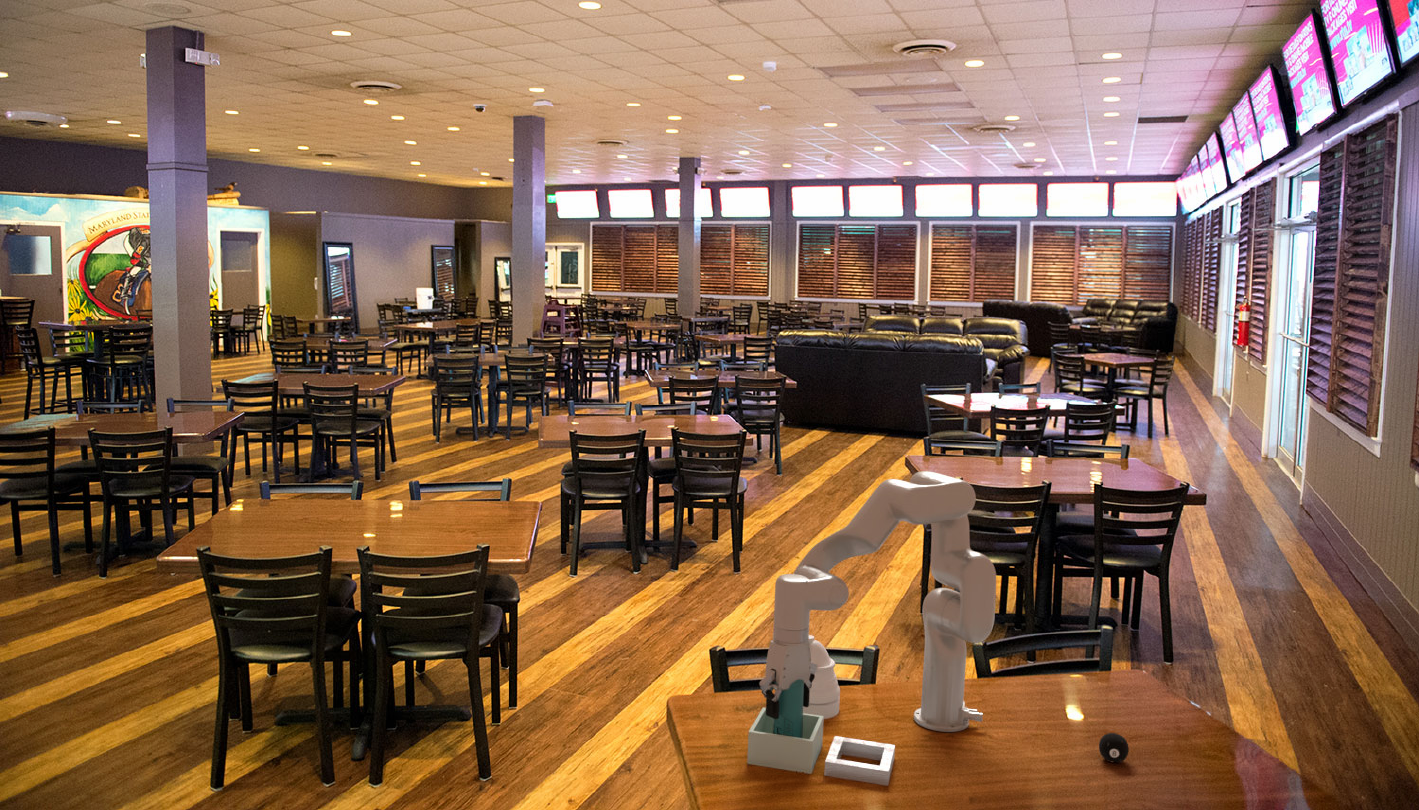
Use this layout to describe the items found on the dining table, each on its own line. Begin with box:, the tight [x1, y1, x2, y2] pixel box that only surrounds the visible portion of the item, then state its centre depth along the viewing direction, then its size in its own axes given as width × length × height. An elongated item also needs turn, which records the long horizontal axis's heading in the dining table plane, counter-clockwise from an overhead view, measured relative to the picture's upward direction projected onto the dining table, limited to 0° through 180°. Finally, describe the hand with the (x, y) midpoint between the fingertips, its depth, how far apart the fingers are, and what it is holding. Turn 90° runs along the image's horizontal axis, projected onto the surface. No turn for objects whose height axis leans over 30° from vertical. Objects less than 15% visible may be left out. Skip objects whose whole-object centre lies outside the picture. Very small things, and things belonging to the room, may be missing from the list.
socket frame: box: [823, 735, 896, 787], centre depth 215 cm, size 13×13×3 cm
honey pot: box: [803, 634, 841, 720], centre depth 245 cm, size 13×13×18 cm
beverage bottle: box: [773, 679, 804, 738], centre depth 219 cm, size 6×7×20 cm
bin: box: [746, 706, 825, 775], centre depth 220 cm, size 14×14×7 cm
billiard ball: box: [1098, 732, 1130, 763], centre depth 222 cm, size 6×6×6 cm
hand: (787, 711), depth 219 cm, fingers open, 9 cm apart
